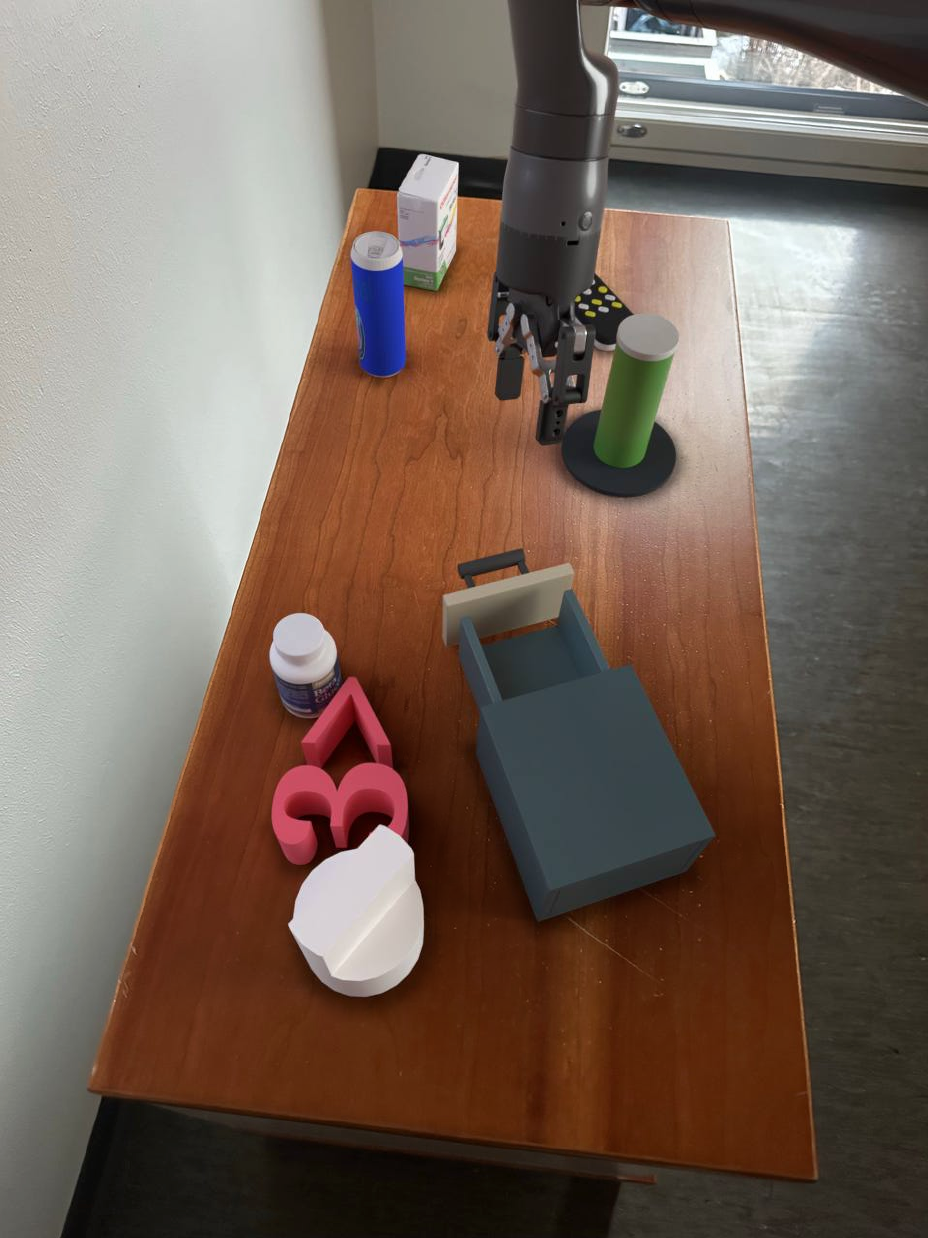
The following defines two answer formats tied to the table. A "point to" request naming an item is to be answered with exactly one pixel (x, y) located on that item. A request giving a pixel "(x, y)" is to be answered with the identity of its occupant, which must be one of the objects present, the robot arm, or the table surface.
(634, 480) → the mat
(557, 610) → the drawer
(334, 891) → the cylinder with rectangular tab
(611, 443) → the chip tube
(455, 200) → the ink box
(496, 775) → the cabinet
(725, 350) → the table surface
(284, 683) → the pill bottle
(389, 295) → the beverage can
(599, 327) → the remote control
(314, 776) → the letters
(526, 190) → the robot arm
